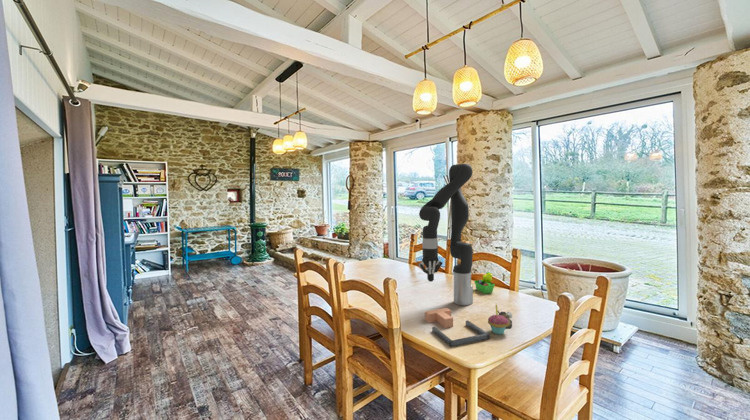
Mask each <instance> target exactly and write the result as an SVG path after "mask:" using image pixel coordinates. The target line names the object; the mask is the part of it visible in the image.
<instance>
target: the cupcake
mask: <svg viewBox="0 0 750 420" xmlns="http://www.w3.org/2000/svg"><path fill="white" fill-rule="evenodd" d="M498 311H499V309H498V304H497V303H495V314H493V315H490V316H489V317H488V320H487V324H489V326H490V328H491V331H492V332H493V334H496V335H503V334H504V333H505V330H506V329H505V328H506V327H507V326H508V325H509V321H508V319H506V318H505V317H504V316H501V315H499V313H498Z"/></svg>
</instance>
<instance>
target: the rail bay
mask: <svg viewBox="0 0 750 420" xmlns="http://www.w3.org/2000/svg"><path fill="white" fill-rule="evenodd" d="M465 326H467V327H468V328H469V329H471V330H472V331H474V332H475V333H476V334H477V335H472V336H467V337H466V336H465V337H462V338H457V339H451V338H449V336H447V335H446V334H445V333H444V332H442V331H441V330H440V329H439V328H437V327H436V326H432V328H431V331H432V333H434V334H435V335H436V336H437V337H438V338H440V340H442V341H443V342H444V343H445V344H446V345H448V346H449V347H451V348H453V347H458V346H462V345H463V346H464V345H467V344H473V343H477V342H481V341H487V340H490V338H491V337H490V336H491V335H490V333H488V332H487V331H485V330H483V328H481V327H479V326H478V325H476V324H474V323H473V322H471V321H469V320H465Z"/></svg>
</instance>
